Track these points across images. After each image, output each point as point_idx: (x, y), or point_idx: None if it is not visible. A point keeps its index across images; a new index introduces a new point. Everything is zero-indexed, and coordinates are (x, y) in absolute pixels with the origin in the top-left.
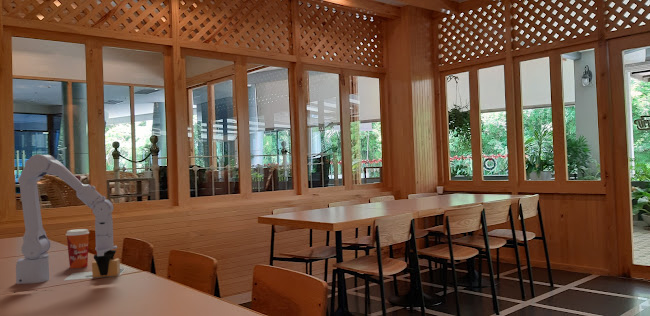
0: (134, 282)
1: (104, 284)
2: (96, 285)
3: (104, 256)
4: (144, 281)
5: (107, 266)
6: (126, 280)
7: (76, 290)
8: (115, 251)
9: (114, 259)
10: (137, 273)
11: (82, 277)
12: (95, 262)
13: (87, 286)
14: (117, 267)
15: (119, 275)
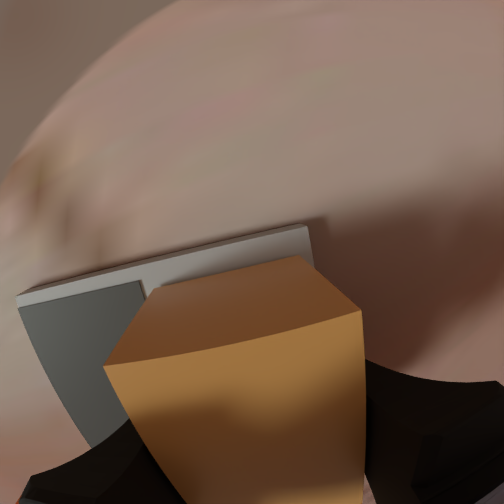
0: (422, 65)
1: (448, 267)
2: (455, 309)
3: (501, 438)
4: (395, 9)
5: (386, 368)
6: (365, 136)
7: (501, 350)
8: (57, 496)
9: (211, 406)
10: (87, 145)
11: None
12: (361, 496)
13: (457, 349)
14: (286, 283)
15: (285, 235)
